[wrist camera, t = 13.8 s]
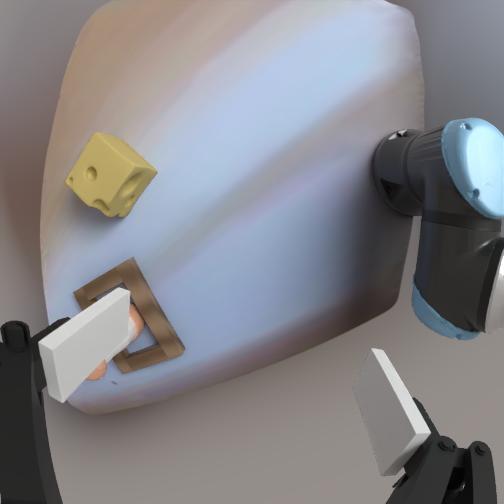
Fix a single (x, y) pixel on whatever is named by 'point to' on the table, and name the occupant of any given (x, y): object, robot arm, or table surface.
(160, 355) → the rail frame
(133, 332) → the salt shaker
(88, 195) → the cheese
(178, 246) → the table surface
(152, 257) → the table surface
